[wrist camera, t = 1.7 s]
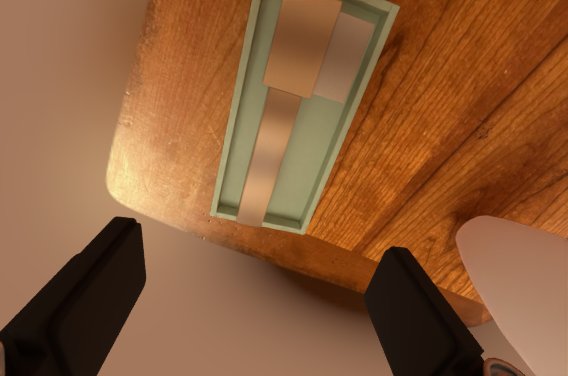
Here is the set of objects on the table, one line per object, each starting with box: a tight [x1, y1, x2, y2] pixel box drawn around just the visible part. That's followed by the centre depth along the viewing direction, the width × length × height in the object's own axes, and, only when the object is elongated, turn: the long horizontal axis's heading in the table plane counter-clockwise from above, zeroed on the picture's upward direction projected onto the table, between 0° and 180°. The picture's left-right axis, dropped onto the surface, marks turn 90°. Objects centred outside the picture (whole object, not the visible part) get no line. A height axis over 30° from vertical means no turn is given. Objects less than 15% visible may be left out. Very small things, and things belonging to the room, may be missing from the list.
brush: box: [236, 0, 374, 228], centre depth 21 cm, size 18×6×4 cm, turn 163°
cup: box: [455, 215, 568, 376], centre depth 20 cm, size 10×10×22 cm
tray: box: [209, 0, 400, 235], centre depth 22 cm, size 10×21×2 cm, turn 163°
